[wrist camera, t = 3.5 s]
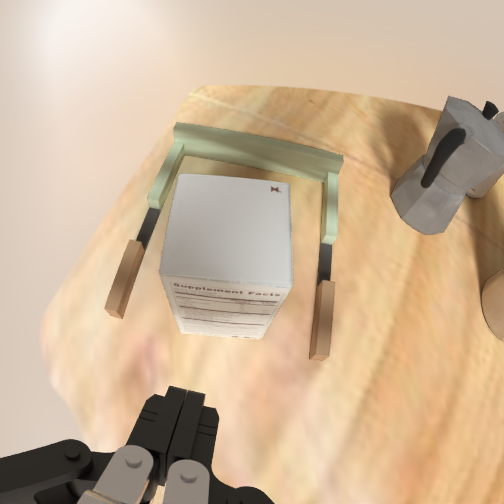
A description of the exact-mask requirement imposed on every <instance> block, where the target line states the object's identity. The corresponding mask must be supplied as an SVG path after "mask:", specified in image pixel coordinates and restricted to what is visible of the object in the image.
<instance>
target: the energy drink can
mask: <svg viewBox="0 0 504 504" xmlns="http://www.w3.org/2000/svg"><path fill="white" fill-rule="evenodd" d="M494 120H495V121H496V122H498V123H499V124H500V130H501V131H502V132H503V134H504V112H502V113H499V114H497V115H496V117H495V118H494ZM503 173H504V164H503V165H502V166H501V167H499V168H498V169H497V170H496V171H495V172H493V173H492V174H491V175H490V176H489V177H487V178H486V179H485V180H484V181H483V182H481V183H480V184H479V185H478V186H477V187H475V188H469V189H468V190H467V192H466V194H467V195H468V196H470V197H472V198H478V197H483V196H484V195H485V194H486V193H487V192H488V191H489V189H490V188H491V187H492V186H493V185H494V184H495V183H496V182H497V180H498V179H499V178H500V177H501V176H502V175H503Z"/></svg>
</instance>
